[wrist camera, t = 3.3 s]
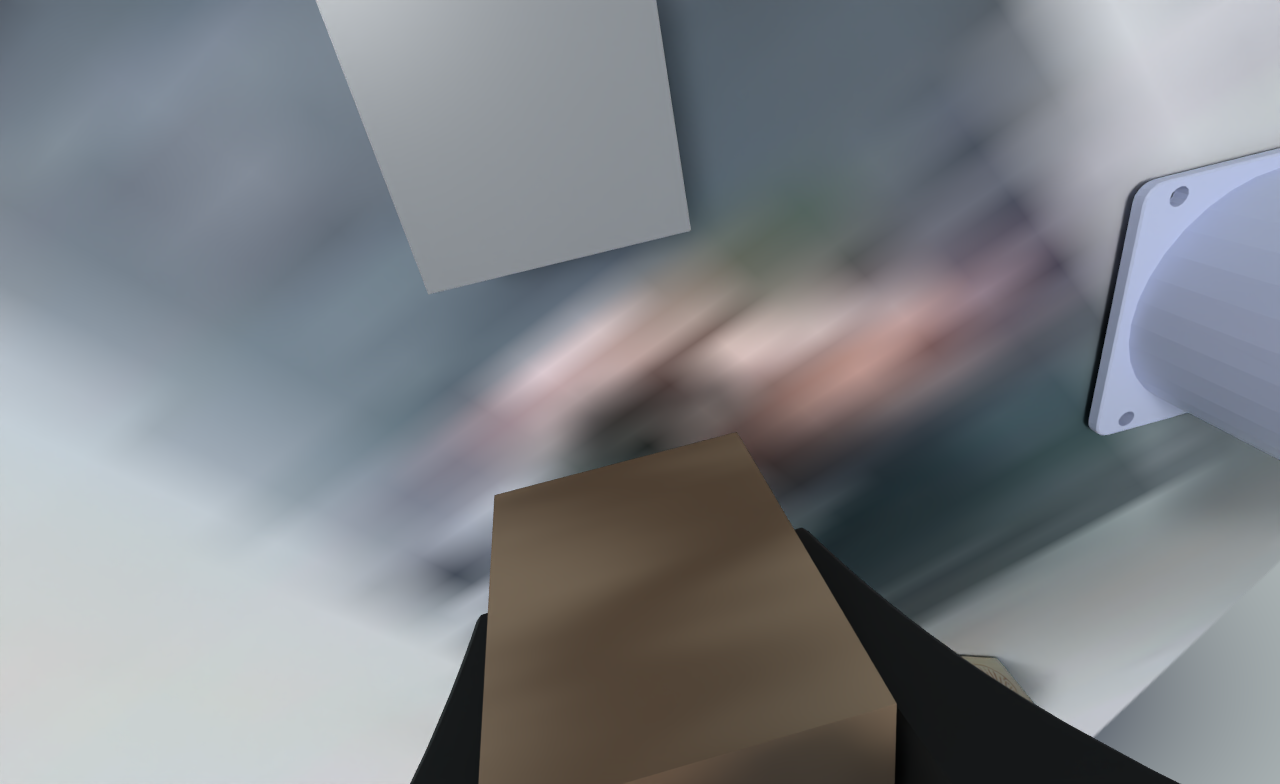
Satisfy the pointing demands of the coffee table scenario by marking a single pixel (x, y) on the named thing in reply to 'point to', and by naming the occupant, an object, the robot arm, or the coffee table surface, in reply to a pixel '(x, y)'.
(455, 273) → the grey cube
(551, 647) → the walnut block
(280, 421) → the coffee table surface
